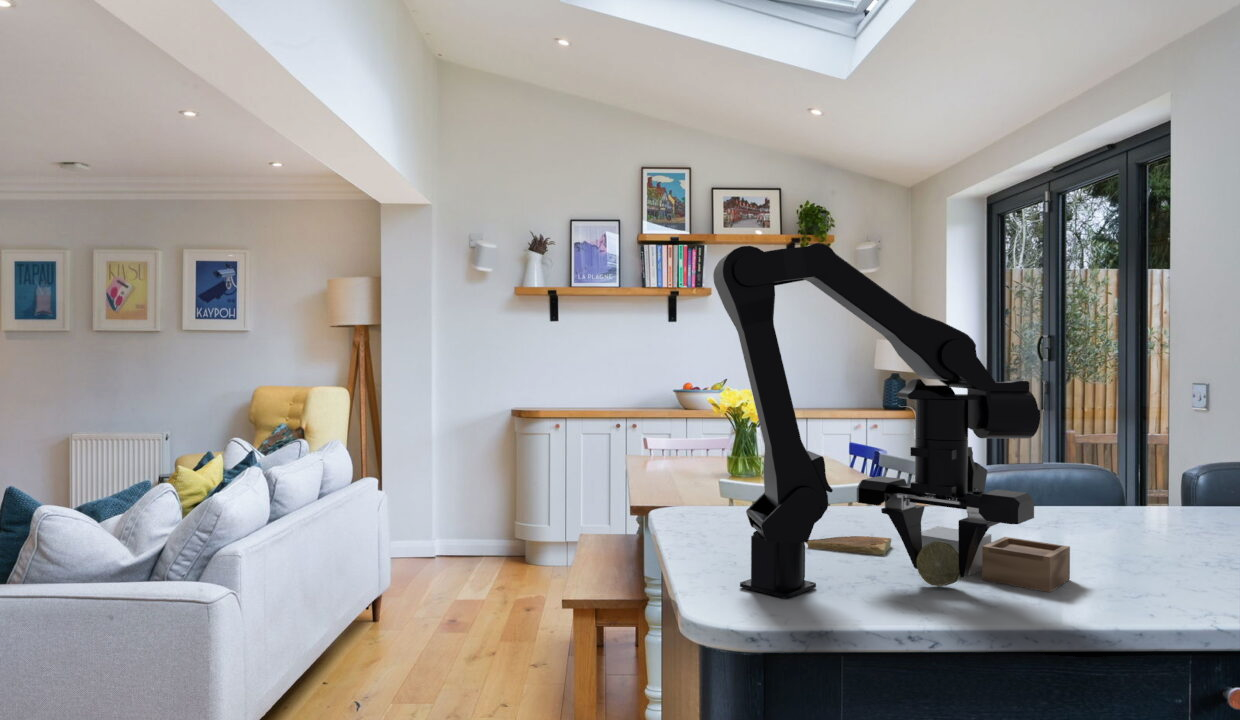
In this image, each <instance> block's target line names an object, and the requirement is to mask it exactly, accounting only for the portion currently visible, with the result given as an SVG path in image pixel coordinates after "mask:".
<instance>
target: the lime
mask: <svg viewBox="0 0 1240 720" xmlns="http://www.w3.org/2000/svg"><path fill="white" fill-rule="evenodd" d="M917 568H918V569H917V572H918V574H919V576H920V577H921V579H922V580H923V581H924V582H926V584H928V585H931V586H936V587H944V586H949V585H952V584H954V583H955V584H956V582H957V581H958V580H959V578H961V577H960V571H959V553H958V552H957V551H956V549H955V548H954V547H953V546H952V545H951V544H949V543H946V542H942V541H933V542H930V543H929V544H927V545H925V546H924V547H923V548H922V549H921V551H920V552H919V554H918V556H917Z"/></svg>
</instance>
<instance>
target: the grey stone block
mask: <svg viewBox="0 0 1240 720" xmlns="http://www.w3.org/2000/svg"><path fill="white" fill-rule="evenodd" d="M921 534H922V548H923V547H924V546H925V545H927V544H929V543H930V542H933V541H942V542H946V543H949V544H951V545H952V546H953V547H954V548H955V549H956V551H957V552H958V553H959V528H958V529H957V528H953V527H944V526H934V527H931V528H929V529H925V530H921ZM991 542H992V534H991V533H987V532H986V533H985V535H984V537H983V539H982V540H981V542H980V545H979V547H978V550H977V552H976V555H975V557H974V560H973V562H972V565H971V567H970V570H969V573H968V575H967V576H971V575H974V574H976V573H979V572H980V571H982V546H984V545H987V544H989V543H991Z"/></svg>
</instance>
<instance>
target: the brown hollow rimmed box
mask: <svg viewBox="0 0 1240 720" xmlns="http://www.w3.org/2000/svg"><path fill="white" fill-rule="evenodd" d="M1070 570H1071V547H1070V546H1068V545H1062V544H1055V543H1049V542H1042V541H1036V540H1030V539H1022V538H1016V537H1010V536H1004V537H1001V538H999V539H996V540H994V541H991V543H989V544H987V545H984V546H982V570H981V580H983V581H988V582H993V583H999V584H1005V585H1008V586H1016V587H1020V588H1026V589H1031V590H1036V591H1041V592H1047V593H1051V592H1053V591H1054V590H1055V589H1057V588H1059V587H1060V585H1061V586H1062V585H1064V584H1065V583H1067V582H1068V581H1067V580H1069V579H1071V575H1070V574H1071V571H1070ZM1066 581H1067V582H1066ZM1069 581H1070V580H1069ZM1064 582H1065V583H1064ZM1063 583H1064V584H1063Z"/></svg>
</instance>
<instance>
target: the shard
mask: <svg viewBox="0 0 1240 720" xmlns="http://www.w3.org/2000/svg"><path fill="white" fill-rule="evenodd" d="M891 543H892V538H891V537H880V536H878V537H877V536H865V535H864V536H863V535H862V536H861V535H857V536H855V535H854V536H853V535H851V536H837V537H834V536H833V537H825V538H818V539H817V538H816V539H809V540H808V542H805V544H806V545H807V548H808V549H809V548H810V549H816V548H819V549H818V550H830V551H839V552H848V553H849V552H852V553H857V554H865V555H866V554H868V555H875V556H885V555H886V553H887V552H888V551H889V549H891V547H892V545H891Z"/></svg>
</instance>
